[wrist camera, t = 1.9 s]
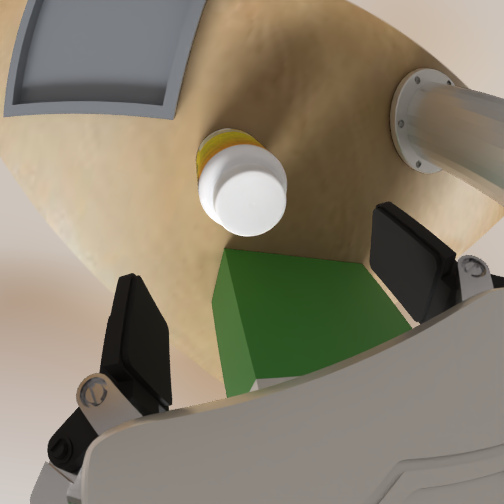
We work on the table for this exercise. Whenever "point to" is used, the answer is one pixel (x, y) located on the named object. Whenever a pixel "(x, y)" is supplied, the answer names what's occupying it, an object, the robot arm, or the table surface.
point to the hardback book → (295, 316)
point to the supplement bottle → (240, 182)
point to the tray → (101, 57)
